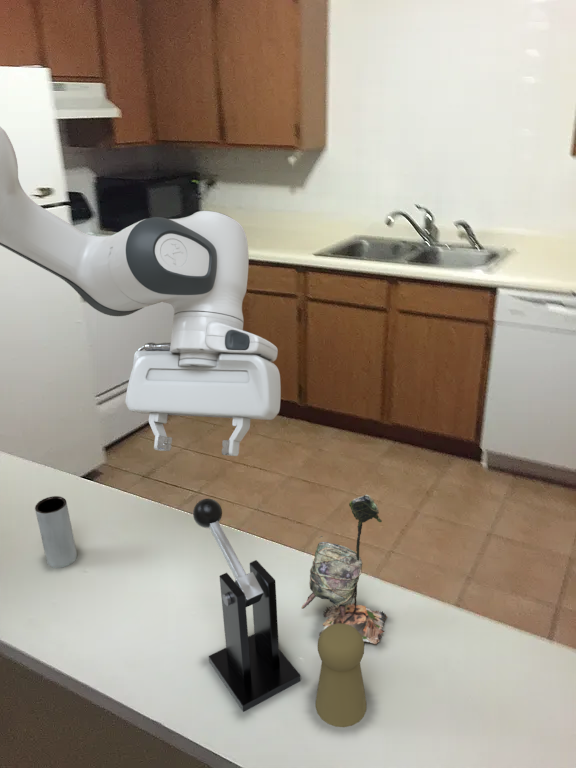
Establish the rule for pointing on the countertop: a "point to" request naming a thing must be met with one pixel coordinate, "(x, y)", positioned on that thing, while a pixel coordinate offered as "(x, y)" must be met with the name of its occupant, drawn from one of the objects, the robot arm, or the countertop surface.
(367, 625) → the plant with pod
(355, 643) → the olive pawn figure
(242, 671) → the black lever stand
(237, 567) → the lever handle
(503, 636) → the countertop surface
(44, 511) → the grey tall hollow cylinder
